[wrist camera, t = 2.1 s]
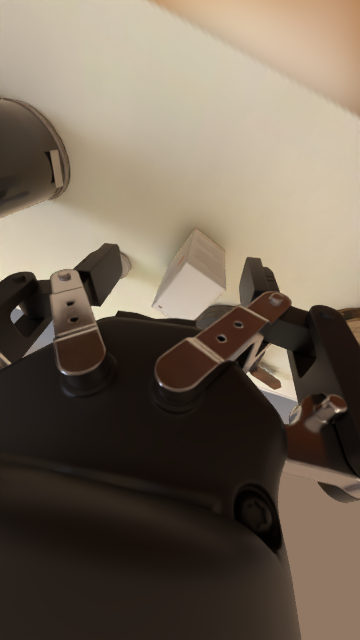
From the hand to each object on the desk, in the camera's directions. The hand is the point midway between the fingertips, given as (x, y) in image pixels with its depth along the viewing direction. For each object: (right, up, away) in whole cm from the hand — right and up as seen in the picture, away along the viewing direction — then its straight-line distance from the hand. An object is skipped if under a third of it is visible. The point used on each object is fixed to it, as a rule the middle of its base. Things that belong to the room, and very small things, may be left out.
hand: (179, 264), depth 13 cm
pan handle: (+18, -15, +32) cm, 39 cm away
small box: (+2, +6, +19) cm, 20 cm away
